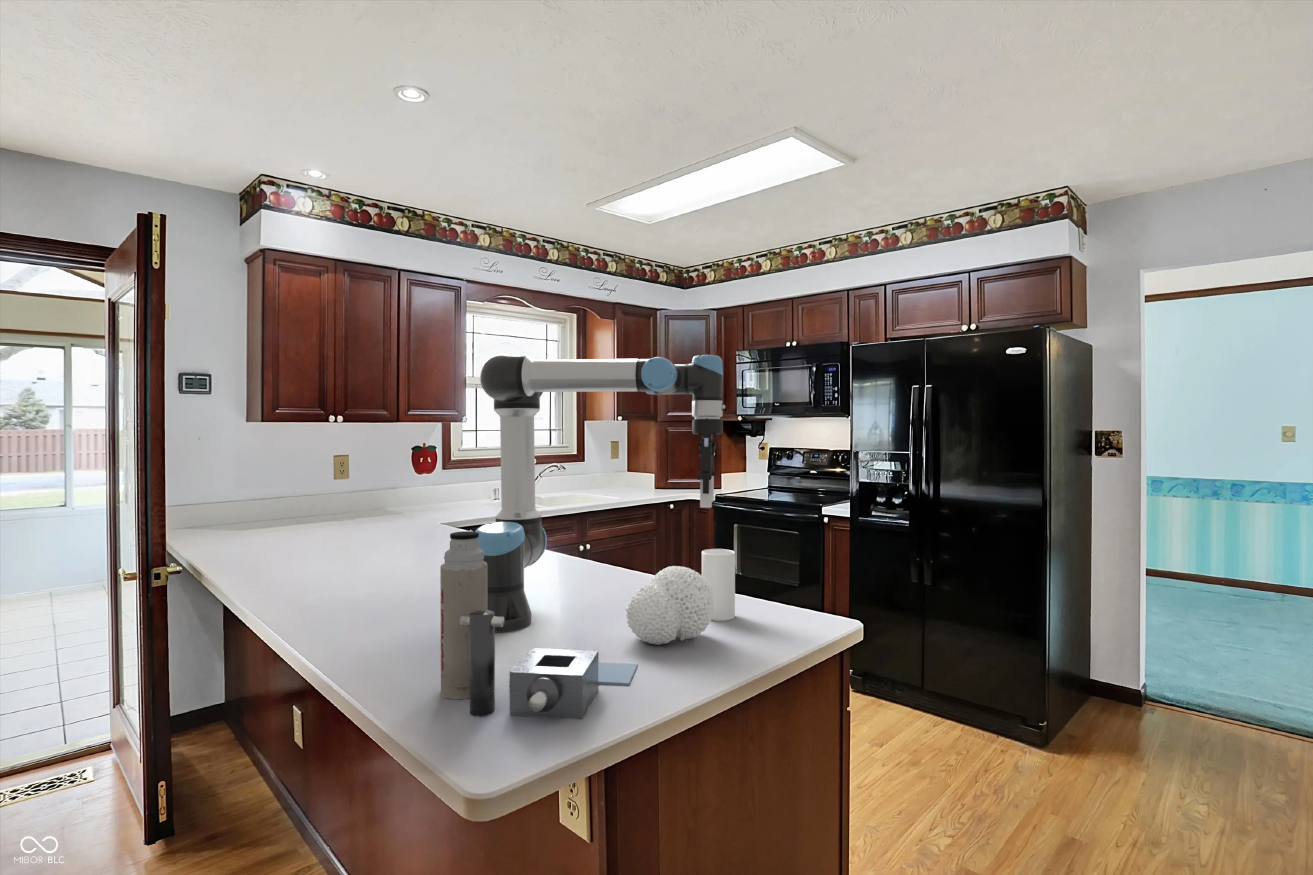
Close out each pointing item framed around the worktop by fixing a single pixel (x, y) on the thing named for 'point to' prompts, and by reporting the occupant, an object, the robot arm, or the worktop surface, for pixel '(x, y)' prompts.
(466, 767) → the worktop surface
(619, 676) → the mat
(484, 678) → the key
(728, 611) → the cup
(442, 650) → the thermos bottle
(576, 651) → the block
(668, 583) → the white coral
